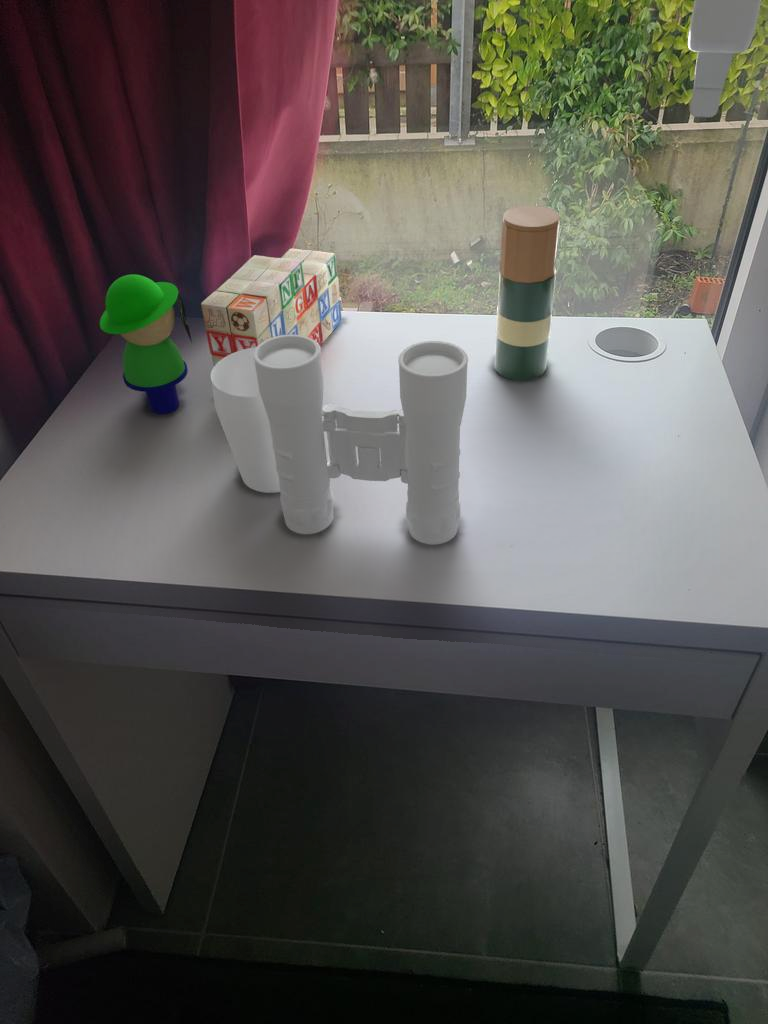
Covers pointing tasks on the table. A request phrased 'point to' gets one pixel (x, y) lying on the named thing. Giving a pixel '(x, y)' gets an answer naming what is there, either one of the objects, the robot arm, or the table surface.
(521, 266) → the brown cylinder
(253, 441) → the cup
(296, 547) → the table surface
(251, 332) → the stack of blocks
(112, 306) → the toy
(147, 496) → the table surface
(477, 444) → the table surface
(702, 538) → the table surface
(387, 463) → the binoculars
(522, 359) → the bottle
